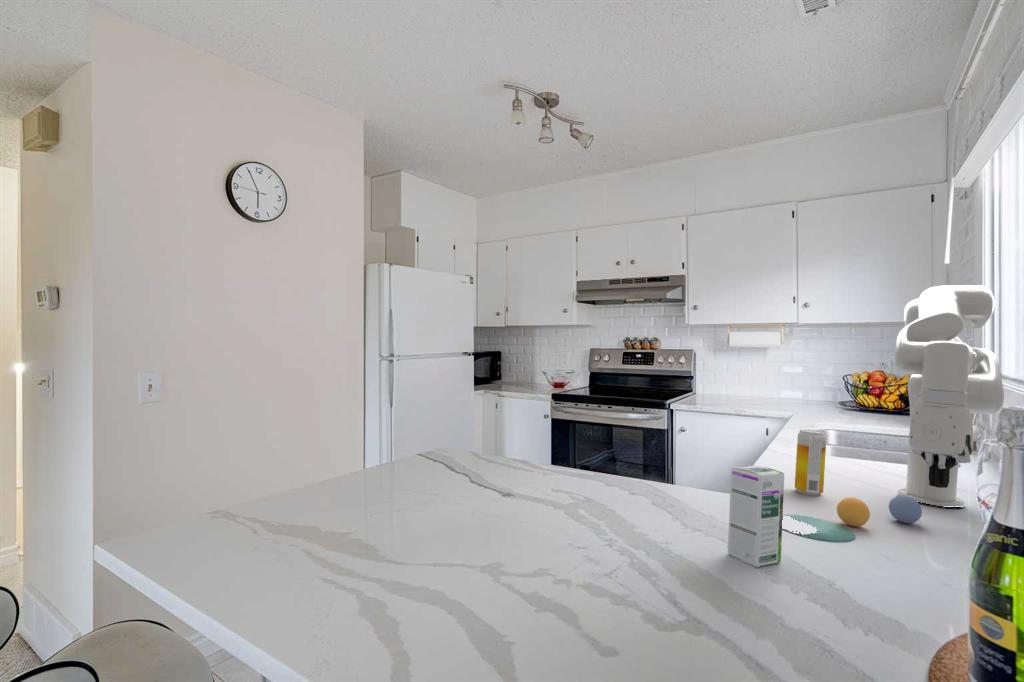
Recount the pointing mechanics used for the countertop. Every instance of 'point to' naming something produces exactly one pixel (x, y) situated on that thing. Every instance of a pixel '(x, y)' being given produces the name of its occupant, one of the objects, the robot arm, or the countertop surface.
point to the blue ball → (905, 509)
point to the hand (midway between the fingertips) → (938, 486)
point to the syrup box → (756, 515)
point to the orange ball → (853, 511)
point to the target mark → (826, 529)
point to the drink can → (810, 462)
